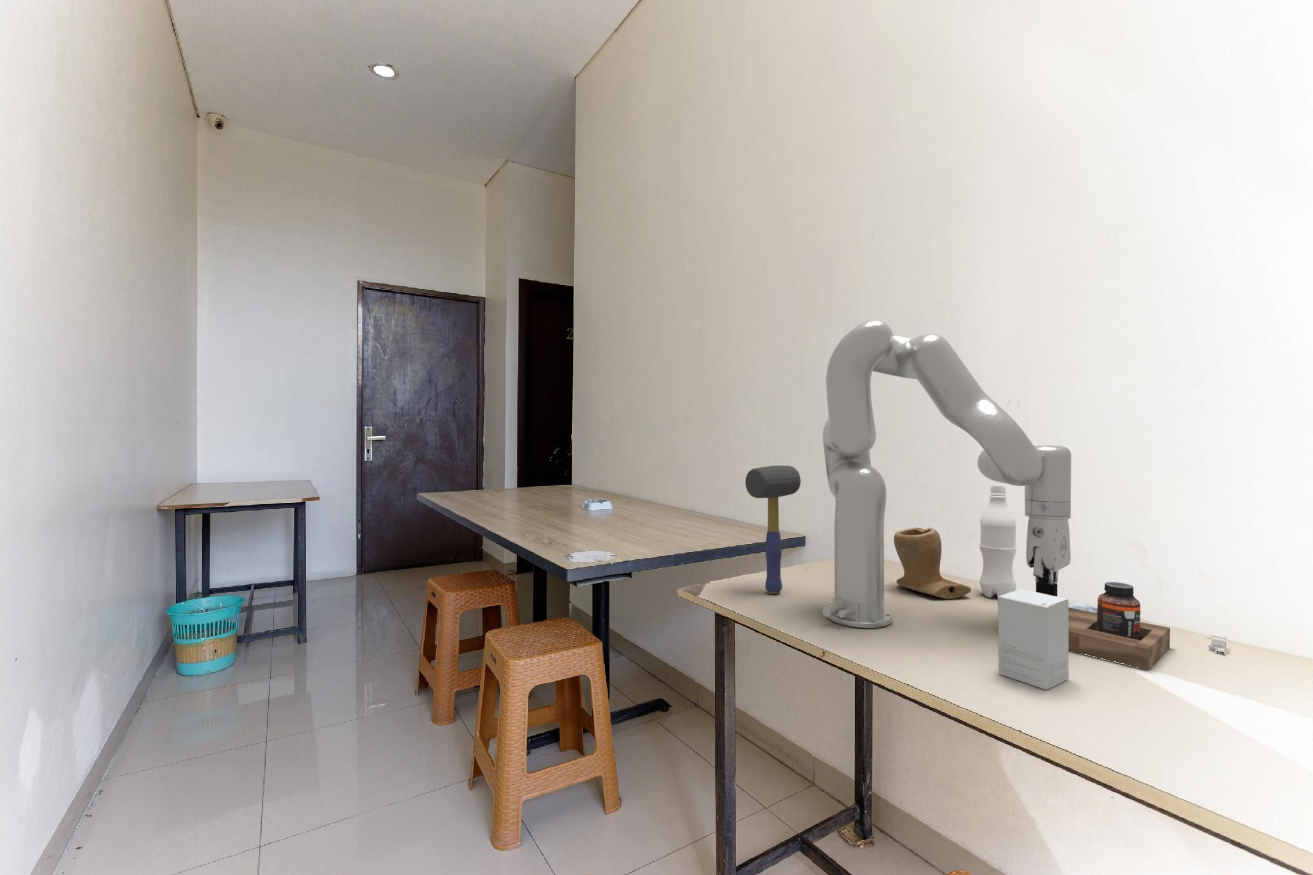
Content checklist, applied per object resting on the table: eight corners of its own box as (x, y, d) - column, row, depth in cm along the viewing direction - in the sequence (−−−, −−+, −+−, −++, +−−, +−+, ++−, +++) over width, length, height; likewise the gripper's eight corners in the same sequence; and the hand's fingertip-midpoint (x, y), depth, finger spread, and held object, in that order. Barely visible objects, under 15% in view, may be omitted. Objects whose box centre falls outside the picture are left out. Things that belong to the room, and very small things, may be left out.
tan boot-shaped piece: (882, 587, 145) (882, 525, 144) (921, 581, 149) (921, 521, 148) (932, 604, 130) (932, 536, 130) (972, 598, 135) (973, 532, 134)
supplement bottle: (1142, 658, 100) (1143, 591, 100) (1098, 651, 104) (1099, 586, 103) (1136, 646, 106) (1137, 582, 105) (1095, 640, 109) (1095, 578, 108)
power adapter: (1230, 655, 102) (1230, 637, 102) (1228, 659, 101) (1229, 640, 101) (1206, 650, 105) (1206, 632, 105) (1204, 654, 103) (1204, 636, 103)
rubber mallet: (780, 585, 147) (779, 463, 146) (804, 592, 141) (803, 465, 140) (743, 594, 140) (742, 466, 139) (766, 601, 134) (765, 467, 133)
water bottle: (1006, 592, 139) (1007, 485, 138) (1022, 601, 132) (1022, 488, 131) (974, 591, 140) (974, 485, 139) (988, 600, 133) (988, 488, 132)
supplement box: (1070, 679, 93) (1071, 598, 92) (1046, 691, 89) (1047, 607, 88) (1020, 663, 99) (1020, 587, 99) (996, 673, 95) (996, 594, 95)
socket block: (1147, 670, 95) (1148, 649, 95) (999, 633, 112) (999, 615, 112) (1169, 647, 105) (1170, 627, 105) (1029, 616, 122) (1029, 599, 122)
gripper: (1056, 515, 109) (1055, 615, 109) (1082, 507, 118) (1081, 599, 119) (1010, 511, 114) (1010, 606, 115) (1039, 503, 124) (1038, 591, 124)
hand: (1046, 602), depth 117 cm, fingers closed
